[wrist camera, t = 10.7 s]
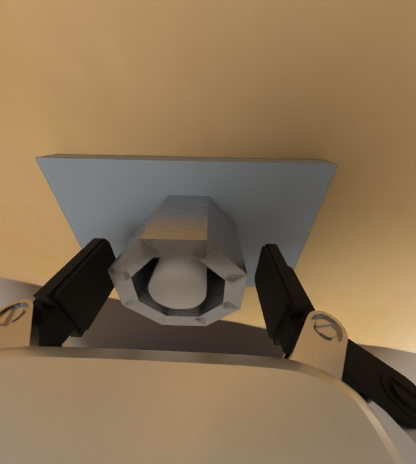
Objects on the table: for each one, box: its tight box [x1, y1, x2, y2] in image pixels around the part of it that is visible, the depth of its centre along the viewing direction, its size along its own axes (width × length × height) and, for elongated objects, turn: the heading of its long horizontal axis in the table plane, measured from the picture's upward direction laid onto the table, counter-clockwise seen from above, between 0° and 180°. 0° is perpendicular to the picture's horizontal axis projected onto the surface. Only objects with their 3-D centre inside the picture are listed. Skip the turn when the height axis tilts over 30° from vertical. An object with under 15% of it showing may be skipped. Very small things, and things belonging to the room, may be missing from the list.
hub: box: [108, 195, 247, 326], centre depth 11 cm, size 7×7×5 cm
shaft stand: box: [35, 154, 338, 309], centre depth 11 cm, size 18×11×6 cm, turn 89°
